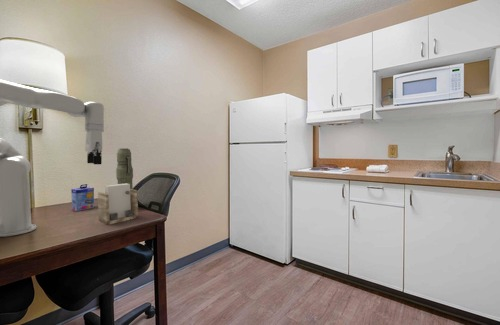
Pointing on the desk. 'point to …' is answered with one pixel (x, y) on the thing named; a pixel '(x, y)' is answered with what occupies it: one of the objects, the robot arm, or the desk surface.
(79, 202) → the ink cartridge box
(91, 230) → the desk surface
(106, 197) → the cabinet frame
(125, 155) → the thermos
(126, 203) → the white rectangular block
